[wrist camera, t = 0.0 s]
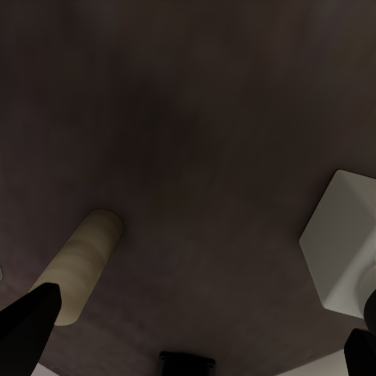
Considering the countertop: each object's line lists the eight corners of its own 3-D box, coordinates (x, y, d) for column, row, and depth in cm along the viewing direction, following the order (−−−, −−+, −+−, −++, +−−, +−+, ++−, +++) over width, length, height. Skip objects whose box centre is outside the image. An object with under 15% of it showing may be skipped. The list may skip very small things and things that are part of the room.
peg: (123, 243, 27) (81, 329, 19) (87, 238, 27) (30, 321, 19) (122, 211, 25) (76, 290, 17) (83, 206, 26) (20, 282, 18)
